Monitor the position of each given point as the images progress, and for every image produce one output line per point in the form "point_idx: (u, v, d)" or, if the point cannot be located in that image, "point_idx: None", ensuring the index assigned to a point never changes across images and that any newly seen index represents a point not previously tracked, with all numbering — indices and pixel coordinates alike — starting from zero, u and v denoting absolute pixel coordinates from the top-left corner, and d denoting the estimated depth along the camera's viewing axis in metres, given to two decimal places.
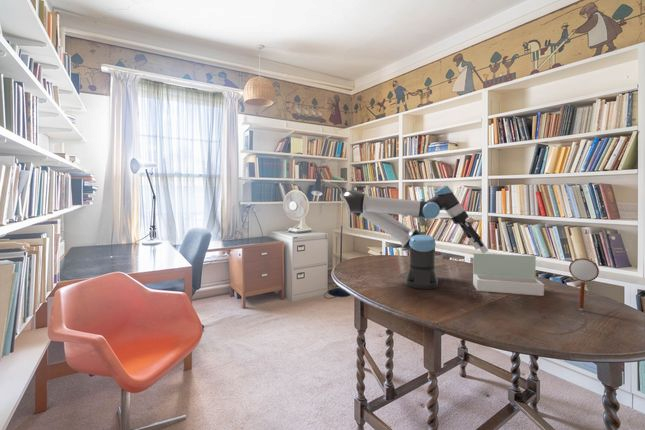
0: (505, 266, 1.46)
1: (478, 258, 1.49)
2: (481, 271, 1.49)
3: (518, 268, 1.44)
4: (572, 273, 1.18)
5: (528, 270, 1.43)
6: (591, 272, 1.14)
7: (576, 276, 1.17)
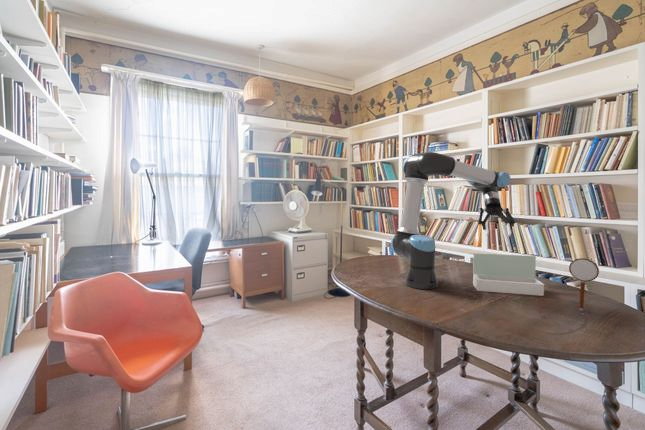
0: (505, 266, 1.46)
1: (478, 258, 1.49)
2: (481, 271, 1.49)
3: (518, 268, 1.44)
4: (572, 273, 1.18)
5: (528, 270, 1.43)
6: (591, 272, 1.14)
7: (576, 276, 1.17)
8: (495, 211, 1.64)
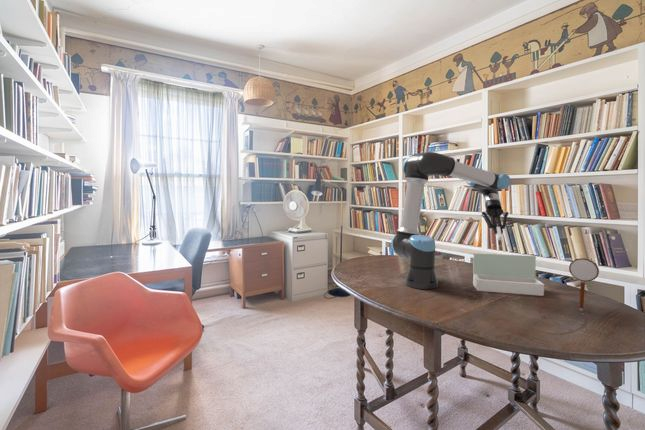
0: (505, 266, 1.46)
1: (478, 258, 1.49)
2: (481, 271, 1.49)
3: (518, 268, 1.44)
4: (572, 273, 1.18)
5: (528, 270, 1.43)
6: (591, 272, 1.14)
7: (576, 276, 1.17)
8: (496, 213, 1.63)
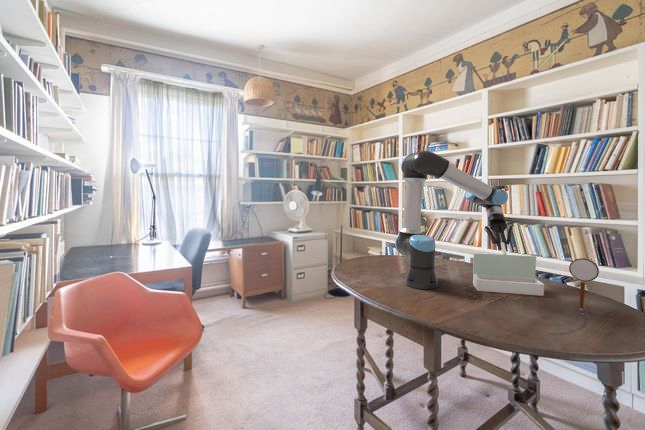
0: (505, 266, 1.46)
1: (478, 258, 1.49)
2: (481, 271, 1.49)
3: (518, 268, 1.44)
4: (572, 273, 1.18)
5: (529, 270, 1.43)
6: (591, 272, 1.14)
7: (576, 276, 1.17)
8: (499, 227, 1.56)
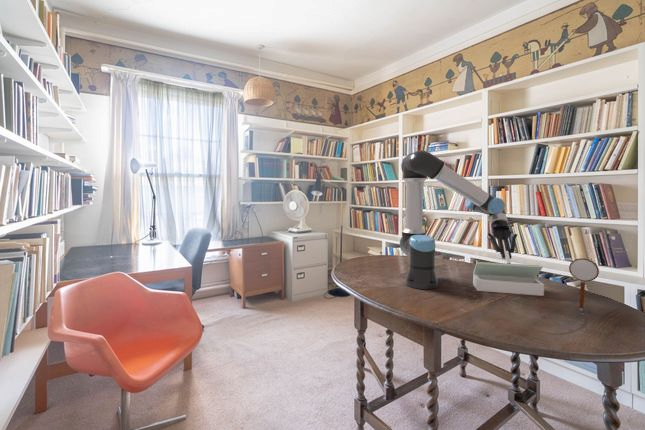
0: (507, 271, 1.43)
1: (481, 266, 1.43)
2: (482, 273, 1.48)
3: (520, 272, 1.41)
4: (572, 273, 1.18)
5: (531, 274, 1.41)
6: (591, 272, 1.14)
7: (576, 276, 1.17)
8: (503, 235, 1.50)
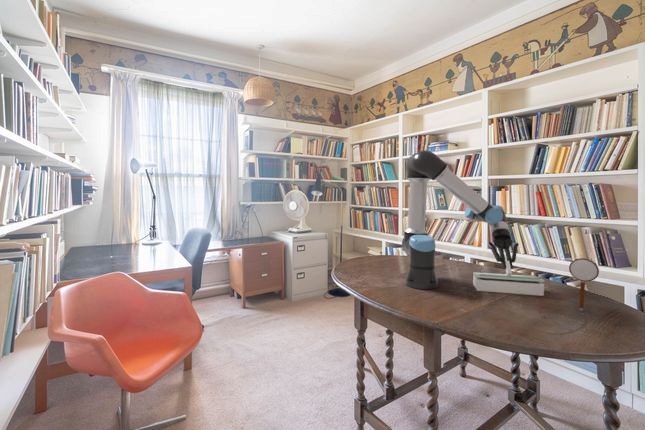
0: None
1: None
2: None
3: None
4: (572, 273, 1.18)
5: None
6: (591, 272, 1.14)
7: (576, 276, 1.17)
8: (504, 244, 1.47)
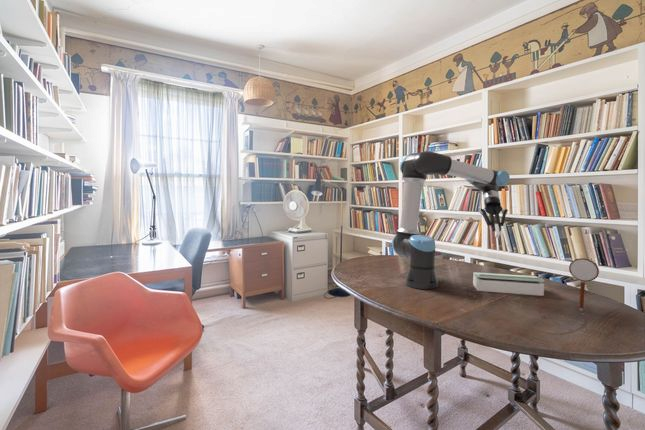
0: None
1: None
2: None
3: None
4: (572, 273, 1.18)
5: None
6: (591, 272, 1.14)
7: (576, 276, 1.17)
8: (494, 210, 1.62)
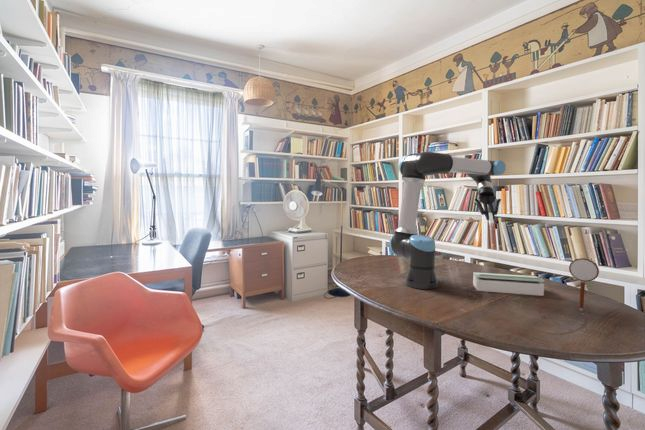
0: None
1: None
2: None
3: None
4: (572, 273, 1.18)
5: None
6: (591, 272, 1.14)
7: (576, 276, 1.17)
8: (488, 200, 1.66)
